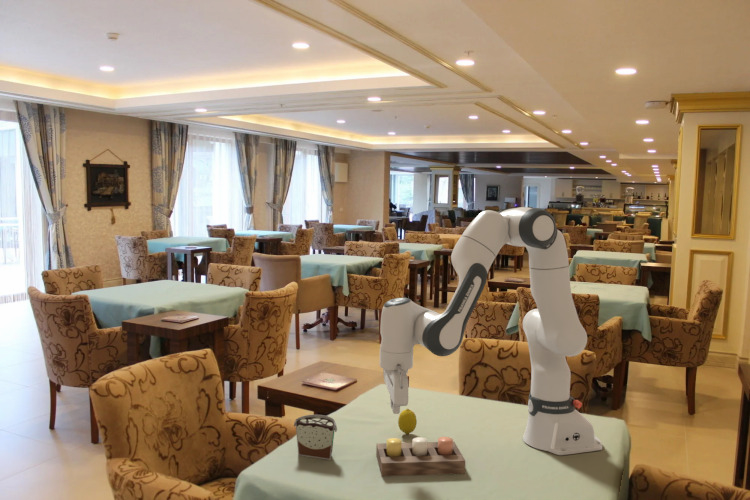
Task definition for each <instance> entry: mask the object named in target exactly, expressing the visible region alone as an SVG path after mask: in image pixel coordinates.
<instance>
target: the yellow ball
mask: <svg viewBox="0 0 750 500" xmlns="http://www.w3.org/2000/svg"><path fill="white" fill-rule="evenodd" d="M386 443H387V450H386V454H387V455H388V456H390V457H398V456H400V455H401V449H402V443H403V441H402V439H400V438H396V437H390V438H387V439H386Z"/></svg>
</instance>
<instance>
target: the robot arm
mask: <svg viewBox="0 0 750 500" xmlns="http://www.w3.org/2000/svg"><path fill="white" fill-rule="evenodd" d="M504 245H507V246H508V245H510V246H513V247H517V248H521V247H523V248H524V247H525V248H526V251H527V253H528V269H529V283H530V294H531V296H532V299H533V300H534V301H535V304H536V308H533V309H531V310H529V311H528V312H527V313H526V314H525V315H524V317H523V318H522V330H523V332H524V334H525V337H526V341H527V347H528V351H529V359H530V366H531V367H530V368H531V373H530V374H531V375H530V376H531V377H530V379H531V380H530V392H529V393H528V402H527V403H528V404H527V407H528V417H527V422H526V426H525V430H524V433H523V436H522V440H523V441H524V443H525V444H527V445H528V446H531V447H532V448H534V449H537V450H540V451H545V452H549V453H552V454H554V455H556V456H557V455H558V456H567V455H573V454H580V453H588V452H596V451H602V450H603V443H602V441H601V440H600V439H599V438H598V437H597V436H596V435H595V431H594V427H593V426H594V425H593V424H592V423H591V422H590V421H589V420H588V418H586V416H584V415H583V414H582V413H580V412H579V411H578V410H577V409H581V408H582V406H583V403H582V402H581V401H580V400H579V399H575V398H574V397H573V396H571V393H570V390H571V379H572V378H571V369H570V366H569V365H568V362H567V359H566V357H569V358H570V357H577V356H578V355H580V354H581V353H582V352H583V351H584V350H585V348H586V347H587V344H588V334H587V331H586V329H585V328H584V327H583V325H582V323H581V322H580V318H579V316H578V315H579V314H578V311H577V309H576V306H575V302H574V298H573V294H572V290H571V287H572V286H571V278H570V264H569V263H570V262H569V254H568V248H567V244H566V240H565V236H564V234H563V233H562V231H560V230H559V229H558V228H557V224H556V220H555V218H554V217H553V215H552V214H551V213H550V212H549V211H548V210H545V209H542V208H540V207H534V208H532V207H527V206H521V207H514V208H512V207H509V208H504V209H501V210H499V211H495V210H491V209H486V210H482V211H481V212H480V213H478V215H476V217H474V218H473V219H472V221H471V222H470V223H469V225H467V227H466V228H465V230H464V231H463V233H462V234H461V236H460V237H459V238H458V240H457V242H456V243H455V246H454V247H453V249H452V252H451V255H450V259H451V265H452V266H453V267H452V268H453V269H454V270H455V272H456V274H457V276H458V284H457V287H456V289H455V292H454V294H453V295H452V297H451V299H450V301H449V303H448V305H447V306H446V309H445V310H444V311H443V312H442V313H439V312H437V311H435V310H432V309H430V308H428V307H427V308H426V307H423V306H421V305H420V304H417V303H416V302H414V301H412V299H410V298H407V297H396V298H392V299H389V300H387V301H386V302H385V303H384V304H383V307H382V308H381V309H382V310H381V315H380V330H379V333H380V337H381V342H380V346H379V366H380V368H381V369H382V370H383V372H382V373H383V382H384V383H385V385H386V388H387V392H388V394H389V397H390V408H391V410H392V413H393V414H395V415H400V413H401V407H407V406H408V405H409V379H408V373H409V370H411V369H413V367H414V347H415V345H421V346H422V347H424V348H426V349H427V350H428V351H429V352H431V353H432V354H433V355H435V356H438V357H448V356H450V355H453V354H454V353H455V352H456V351H457V350H459V348H460V346H461V344H462V343H463V340H464V337H465V336H464V335H465V330H466V328H467V324H468V322H469V319H470V317H471V315H472V313H473V311H474V309H475V308H476V305H477V303H478V301H479V299H480V297H481V295H482V293H483V292H484V288H485V287H486V284H487V280H488V274H489V270H490V268H491V267H492V264H493V262H494V261H495V259H496V257H497V256H498V254H499V252H500V250H501V249H502V247H503V246H504Z"/></svg>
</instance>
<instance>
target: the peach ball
mask: <svg viewBox="0 0 750 500" xmlns="http://www.w3.org/2000/svg"><path fill="white" fill-rule="evenodd" d="M437 442H438V453H439V454H441V455H451V454H452V453H453V442H454V439H453V438H451V437H449V436H440V437H438V438H437Z"/></svg>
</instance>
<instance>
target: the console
mask: <svg viewBox="0 0 750 500" xmlns="http://www.w3.org/2000/svg"><path fill="white" fill-rule="evenodd" d="M375 447H376V448H375V449H376V450H375V451H376V453H375V455H376V459H377V464H378V467H379V472H380V475H381V477H398V476H399V477H400V476H401V477H402V476H404V477H405V476H430V475H431V476H433V475H455V474H456V475H460V474H461V475H463V474H466V459H465V458H464V455H463V454H462V452H461V450H460V449H459V447H458V446H457V443H456V442H455V441H453V453H452V454H451V455H441V454H439V453H438V441H430V442H429V441H427V455H425V456H416V455H413V454H412V442H402V449H401V455H400V456H398V457H390V456H388V455H387V454H386V450H387V442H385V443H382V442H381V443H376V446H375Z"/></svg>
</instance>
